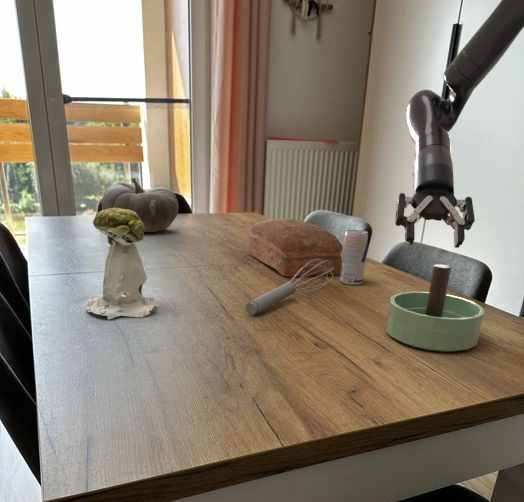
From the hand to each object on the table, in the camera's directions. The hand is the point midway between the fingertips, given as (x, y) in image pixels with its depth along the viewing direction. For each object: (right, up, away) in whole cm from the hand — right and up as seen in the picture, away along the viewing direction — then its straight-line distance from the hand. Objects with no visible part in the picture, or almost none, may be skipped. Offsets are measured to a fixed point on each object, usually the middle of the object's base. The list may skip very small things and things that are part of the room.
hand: (434, 243), depth 96 cm
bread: (-24, +3, +42) cm, 49 cm away
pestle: (-3, -17, -6) cm, 18 cm away
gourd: (-73, +21, +80) cm, 110 cm away
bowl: (-3, -18, -6) cm, 19 cm away
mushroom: (-58, -12, +1) cm, 60 cm away
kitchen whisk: (-26, -9, +12) cm, 30 cm away
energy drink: (-11, -4, +27) cm, 29 cm away
